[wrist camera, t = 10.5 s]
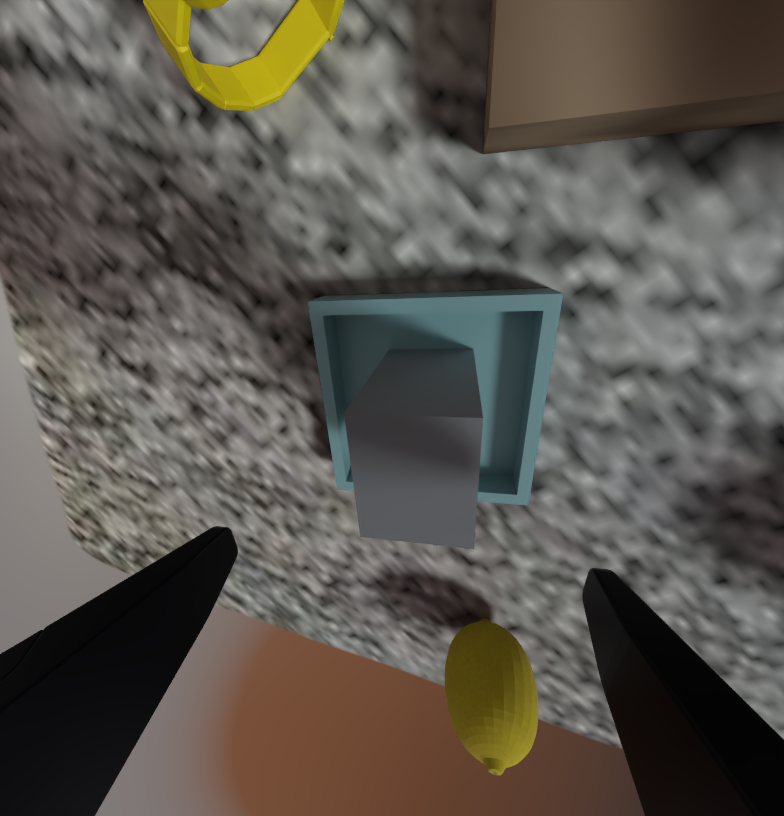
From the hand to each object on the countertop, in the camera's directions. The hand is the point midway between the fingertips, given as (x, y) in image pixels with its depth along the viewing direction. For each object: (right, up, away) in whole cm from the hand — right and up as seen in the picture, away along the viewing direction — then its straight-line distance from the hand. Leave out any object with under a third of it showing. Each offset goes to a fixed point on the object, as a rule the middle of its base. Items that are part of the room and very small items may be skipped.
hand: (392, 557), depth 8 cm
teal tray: (+2, +4, +9) cm, 10 cm away
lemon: (+7, -12, +16) cm, 21 cm away
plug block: (+2, +4, +8) cm, 10 cm away
